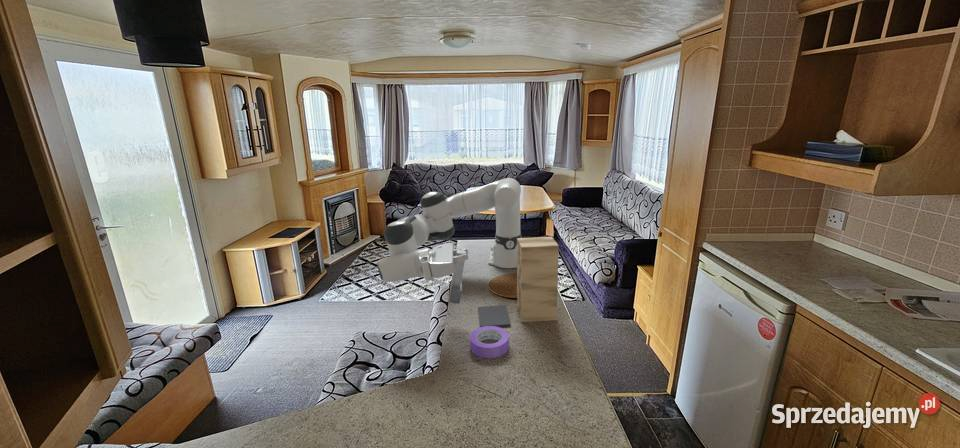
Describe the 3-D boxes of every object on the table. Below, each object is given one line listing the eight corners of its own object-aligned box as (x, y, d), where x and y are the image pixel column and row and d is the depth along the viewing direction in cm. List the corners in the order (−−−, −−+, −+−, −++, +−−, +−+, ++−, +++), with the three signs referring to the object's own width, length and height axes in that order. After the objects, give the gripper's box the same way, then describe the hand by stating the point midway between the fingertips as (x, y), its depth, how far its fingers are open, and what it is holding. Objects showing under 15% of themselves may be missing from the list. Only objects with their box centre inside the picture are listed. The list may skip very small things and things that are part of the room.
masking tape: (480, 363, 112) (480, 351, 111) (464, 342, 122) (464, 331, 121) (515, 351, 117) (515, 340, 115) (497, 332, 127) (497, 322, 126)
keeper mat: (478, 308, 142) (478, 306, 141) (505, 307, 142) (505, 305, 142) (480, 328, 129) (480, 325, 129) (510, 326, 130) (510, 324, 129)
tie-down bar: (456, 247, 131) (466, 248, 131) (449, 293, 135) (459, 294, 136) (456, 254, 124) (467, 256, 125) (449, 302, 129) (459, 303, 129)
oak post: (517, 309, 140) (517, 238, 133) (549, 307, 141) (551, 236, 133) (521, 322, 132) (521, 247, 124) (556, 320, 133) (558, 245, 125)
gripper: (430, 259, 139) (468, 251, 139) (426, 283, 119) (470, 274, 119) (426, 242, 137) (465, 235, 137) (421, 264, 117) (466, 255, 118)
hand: (467, 253), depth 128 cm, fingers closed on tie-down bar, 3 cm apart
